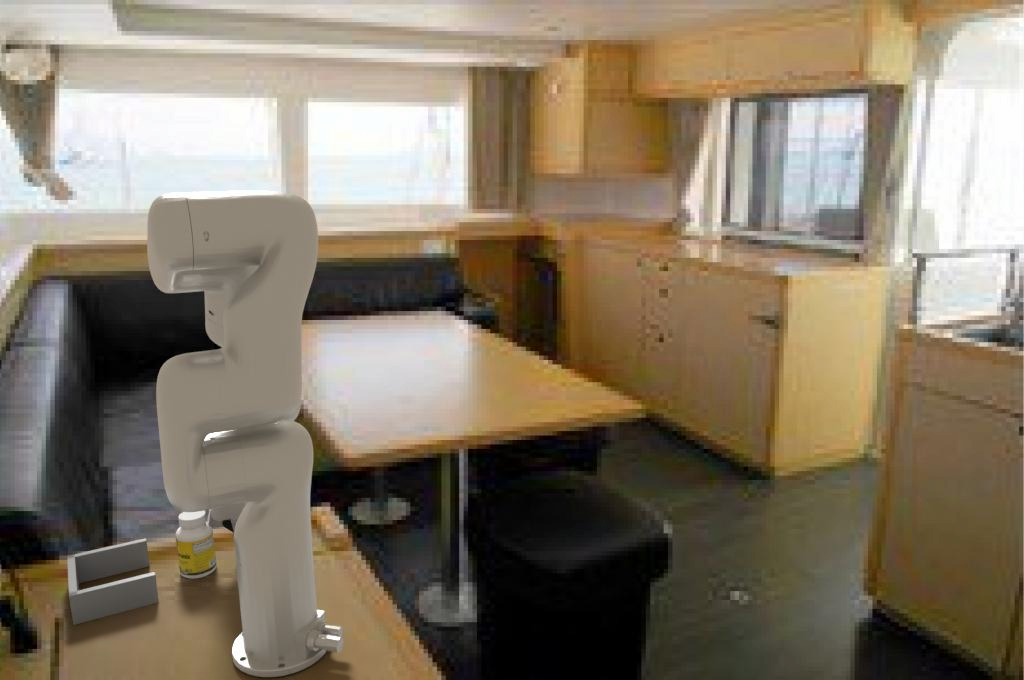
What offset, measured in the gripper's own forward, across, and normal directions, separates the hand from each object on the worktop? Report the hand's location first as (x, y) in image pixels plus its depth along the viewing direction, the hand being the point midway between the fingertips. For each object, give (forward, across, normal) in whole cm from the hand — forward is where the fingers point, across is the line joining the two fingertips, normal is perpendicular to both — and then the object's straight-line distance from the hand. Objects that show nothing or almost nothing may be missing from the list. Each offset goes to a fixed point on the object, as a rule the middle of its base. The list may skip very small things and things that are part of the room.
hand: (246, 552), depth 125 cm
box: (+1, +20, 0) cm, 20 cm away
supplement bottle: (+1, +7, 0) cm, 8 cm away
